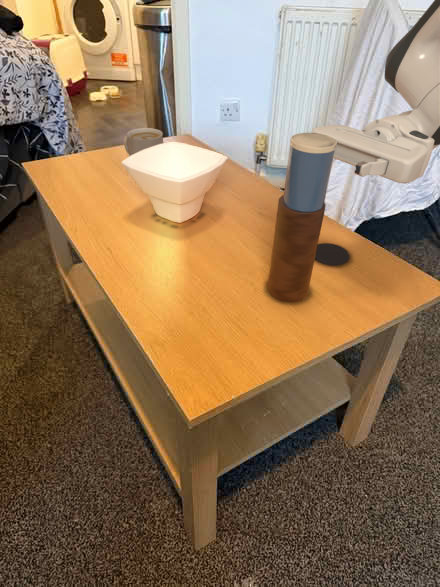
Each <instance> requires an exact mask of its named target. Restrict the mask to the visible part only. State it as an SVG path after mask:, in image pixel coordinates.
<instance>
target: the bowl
mask: <svg viewBox="0 0 440 587" xmlns="http://www.w3.org/2000/svg"><path fill="white" fill-rule="evenodd" d="M228 160H229V158H228V157H227V156H226V155H225V154H221V153H219V152H217V151H214V150H210V149H207V148H204V147H200V146H196V145H191V144H189V143H185V142H179V141H173V140H172V141H167V142H163V143H162V144H158V145H155V146H152V147H149V148H147V149H144V150H142V151H139V152H137V153H135V154H133V155H131V156H129V155H128V156H127V158H125V159H123V160H122V161H121V165H122V167H123V168H124V169H125V171H126V172H127V173H128V175H129V176H130V178H132V179H133V181H134V182H135V184H136V185H137V186H138V187H139V189H140V190H141V192H143V193H145V194H147V196H148V198H149V200H150V203H151V205H152V207H153V209H154V211H155V214H156V215H157V216H159V217H161V218H163V219H166V220H168V221H171V222H174V223H177V224H181V223H184V222H186V221H189V220H190V219H192V218H194V217H195V216H196V215H198V214H199V212H200V211H201V208H202V205H203V201H204V199H205V196H206V193H207V192H208V191H210V189H212V187H213V185H214V184H215V182H216V180H218V177H219V175H220V174H221V172H222V170H223V169H224V167H225V166H226V165H227V163H228Z"/></svg>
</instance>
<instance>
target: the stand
mask: <svg viewBox="0 0 440 587" xmlns="http://www.w3.org/2000/svg"><path fill="white" fill-rule="evenodd" d="M283 196H284V194H282V195H280V197H278V201H277V210H276V218H275V223H274V224H275V226H274V232H273V241H272V247H271V248H272V250H271V256H270V264H269V274H268V281H267V291H268V293H269V294H270V295H271V296H272V297H273V298H275V299H276V300H278V301H281V302H287V303H296V302H301V301H302V300H304V299H305V298H306V297H307V296H308V294H309V289H310V284H311V280H312V274H313V270H314V266H315V261H316V260H315V256H316V251H317V246H318V244H319V241H320V237H321V231H322V226H323V221H324V216H325V211H326V206H327V205H326V201H325V202H324V206H323V208H322V209H320V210H318V211H313V212H301V211H296V210H293V209H290V208H289V207H287V206H286V205H285V204H284V203H283Z"/></svg>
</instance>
